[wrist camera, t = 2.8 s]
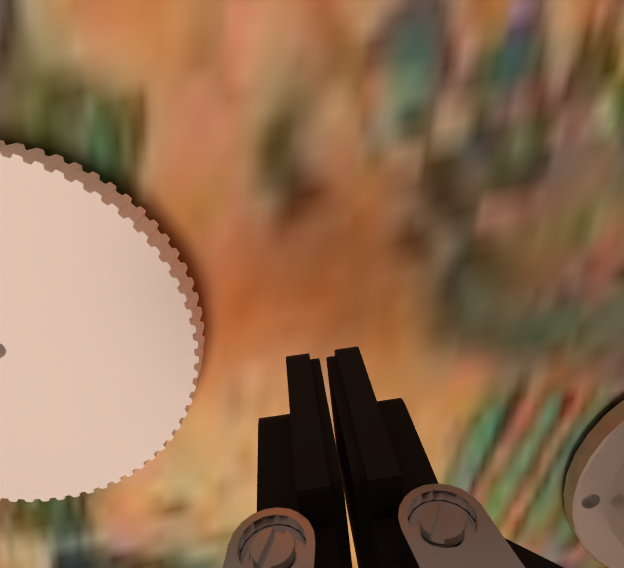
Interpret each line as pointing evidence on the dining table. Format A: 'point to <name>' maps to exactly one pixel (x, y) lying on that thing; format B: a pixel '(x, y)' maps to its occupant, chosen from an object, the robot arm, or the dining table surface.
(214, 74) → the dining table surface
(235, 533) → the robot arm
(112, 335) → the plastic lid
